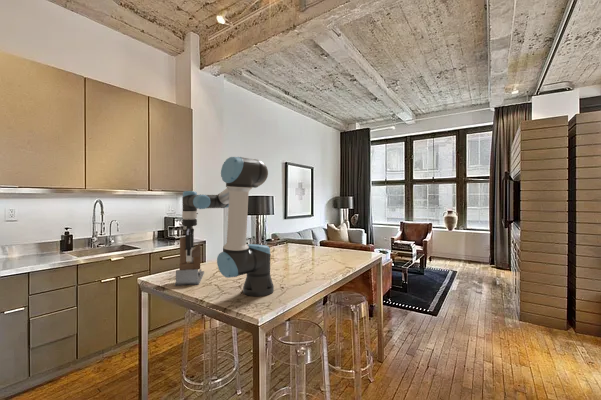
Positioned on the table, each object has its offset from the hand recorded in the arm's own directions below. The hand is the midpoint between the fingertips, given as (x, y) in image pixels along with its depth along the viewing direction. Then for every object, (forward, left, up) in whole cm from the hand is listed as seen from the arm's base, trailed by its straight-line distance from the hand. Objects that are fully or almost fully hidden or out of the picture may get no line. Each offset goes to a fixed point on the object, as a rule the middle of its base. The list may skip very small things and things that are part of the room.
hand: (189, 260), depth 158 cm
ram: (+11, 0, -10) cm, 15 cm away
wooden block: (0, 0, -5) cm, 5 cm away
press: (+2, 0, -11) cm, 12 cm away
